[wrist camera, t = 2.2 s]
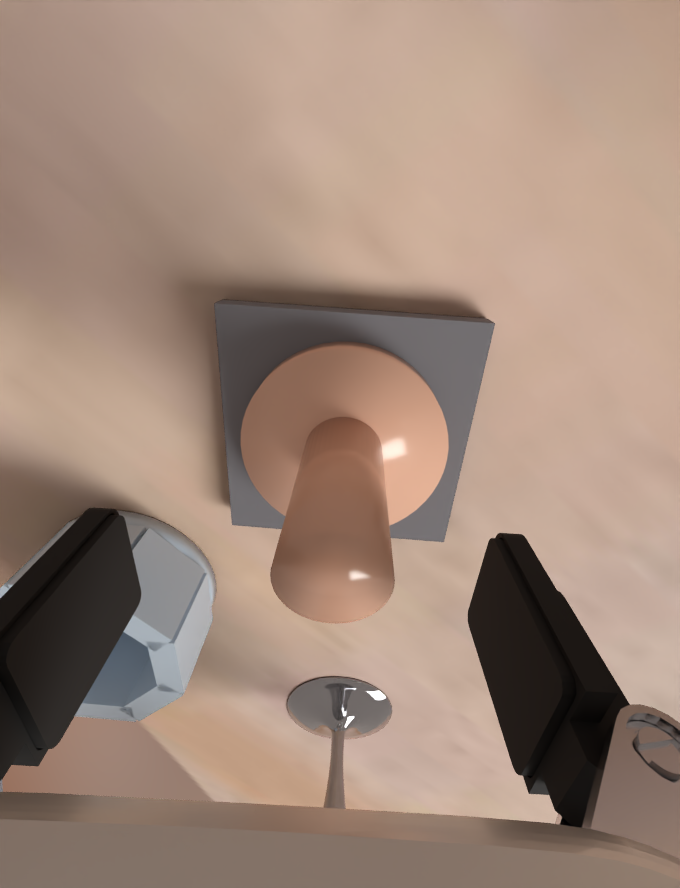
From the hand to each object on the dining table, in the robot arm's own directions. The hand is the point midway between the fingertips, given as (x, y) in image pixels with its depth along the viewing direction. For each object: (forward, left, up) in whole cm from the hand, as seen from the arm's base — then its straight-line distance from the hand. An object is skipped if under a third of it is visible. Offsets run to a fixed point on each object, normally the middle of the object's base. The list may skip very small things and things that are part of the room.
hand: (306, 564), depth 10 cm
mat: (-1, 0, -8) cm, 8 cm away
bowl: (+10, +10, -8) cm, 16 cm away
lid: (-1, 0, -7) cm, 7 cm away
